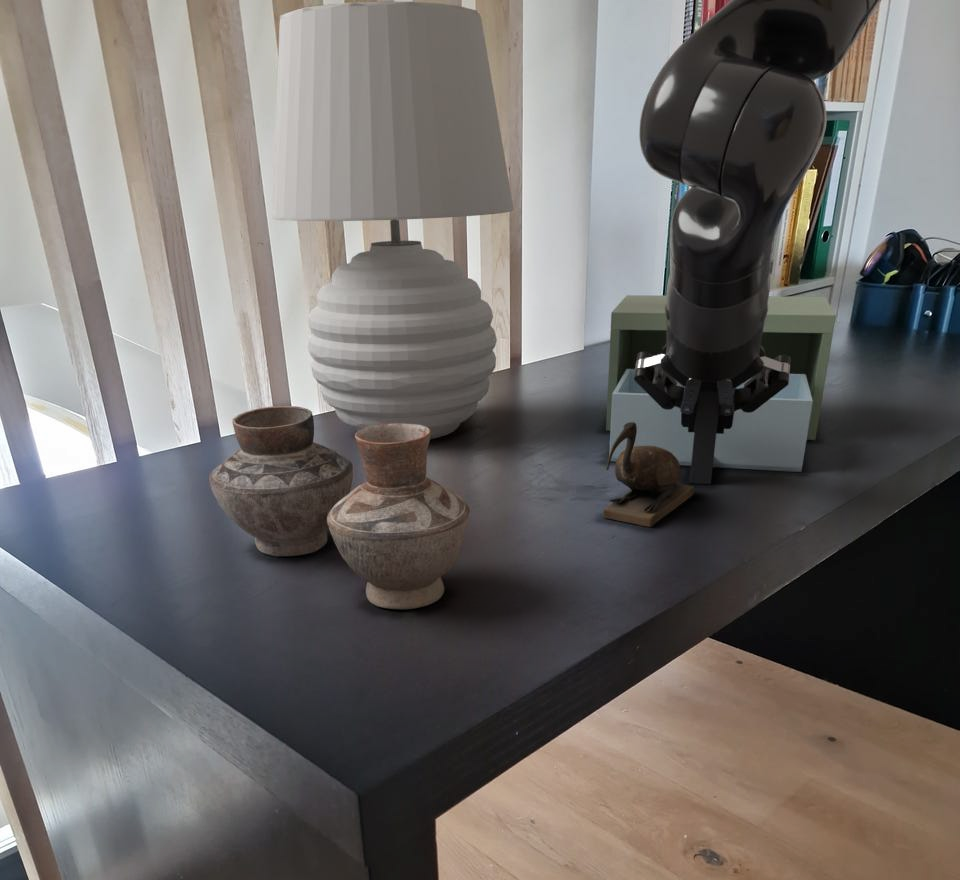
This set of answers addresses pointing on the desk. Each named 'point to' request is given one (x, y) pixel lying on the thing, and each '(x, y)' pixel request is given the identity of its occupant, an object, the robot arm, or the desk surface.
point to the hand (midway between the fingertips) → (706, 424)
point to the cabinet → (786, 331)
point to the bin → (746, 445)
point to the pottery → (345, 502)
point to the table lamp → (392, 200)
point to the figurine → (645, 482)
